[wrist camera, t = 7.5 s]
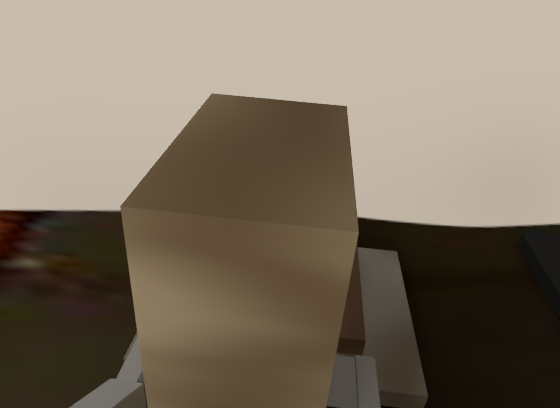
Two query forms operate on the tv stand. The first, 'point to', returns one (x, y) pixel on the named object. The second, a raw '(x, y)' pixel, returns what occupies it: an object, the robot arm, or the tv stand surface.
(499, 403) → the tv stand surface
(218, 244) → the oak plank
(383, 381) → the wooden plank holder
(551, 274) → the smart home device
